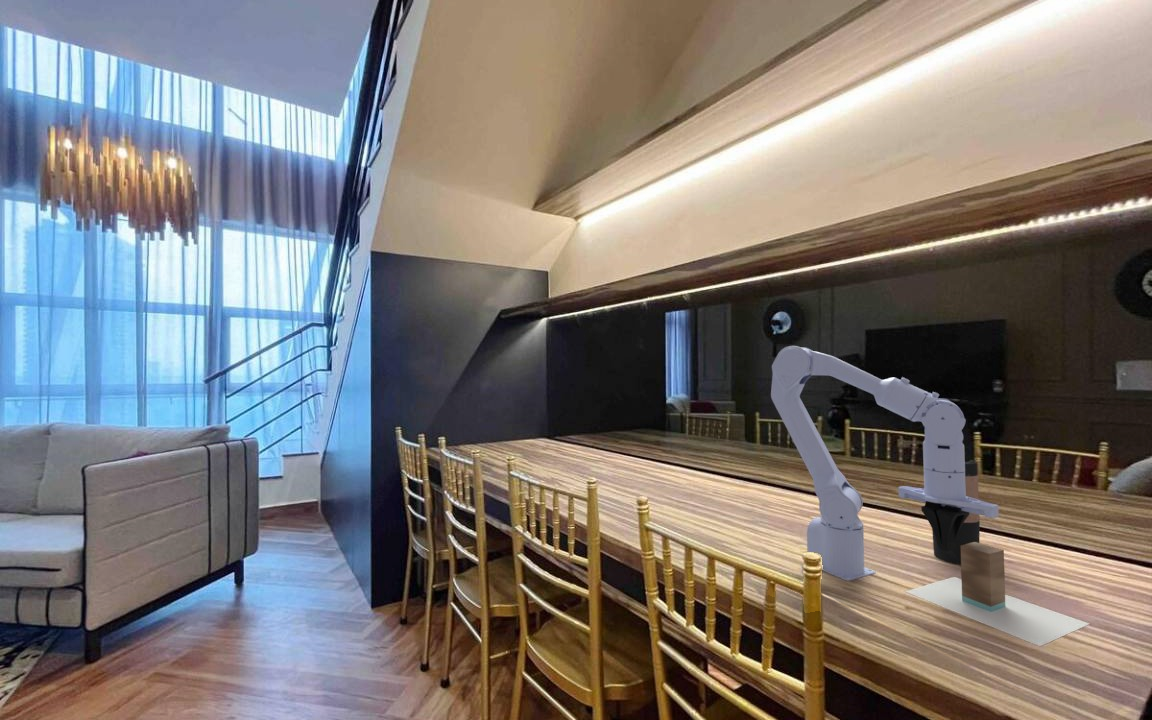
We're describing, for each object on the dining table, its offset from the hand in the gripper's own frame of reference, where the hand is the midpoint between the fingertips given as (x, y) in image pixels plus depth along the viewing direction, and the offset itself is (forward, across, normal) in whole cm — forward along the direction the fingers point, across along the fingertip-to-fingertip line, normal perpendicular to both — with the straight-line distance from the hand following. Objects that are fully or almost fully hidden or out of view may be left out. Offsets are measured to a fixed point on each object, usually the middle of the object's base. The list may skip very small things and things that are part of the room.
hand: (946, 548), depth 83 cm
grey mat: (+7, +6, 0) cm, 10 cm away
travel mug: (+8, -8, +17) cm, 20 cm away
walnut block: (+7, +5, 0) cm, 9 cm away
